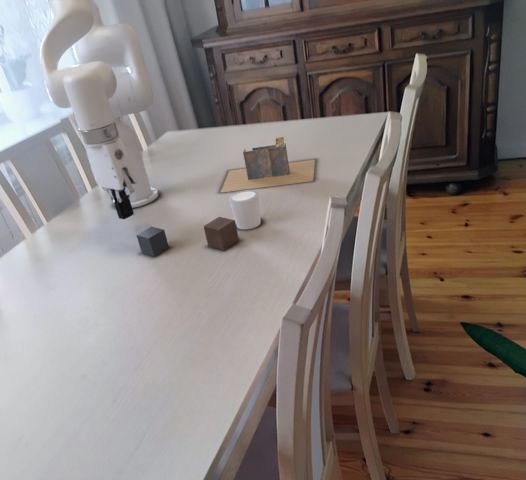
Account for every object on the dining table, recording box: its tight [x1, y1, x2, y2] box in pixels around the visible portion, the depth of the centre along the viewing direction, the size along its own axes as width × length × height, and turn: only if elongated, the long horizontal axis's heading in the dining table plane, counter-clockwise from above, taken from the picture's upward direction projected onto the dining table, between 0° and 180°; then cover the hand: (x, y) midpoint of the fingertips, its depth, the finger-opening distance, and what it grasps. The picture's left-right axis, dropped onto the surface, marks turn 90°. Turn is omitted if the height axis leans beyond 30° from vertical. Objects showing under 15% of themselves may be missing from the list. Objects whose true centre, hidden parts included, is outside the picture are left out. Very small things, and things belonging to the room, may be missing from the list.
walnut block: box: [203, 216, 240, 251], centre depth 126 cm, size 5×5×5 cm
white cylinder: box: [228, 189, 262, 230], centre depth 131 cm, size 7×7×7 cm
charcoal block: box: [135, 226, 170, 258], centre depth 129 cm, size 5×5×5 cm
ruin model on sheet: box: [220, 135, 316, 193], centre depth 154 cm, size 25×16×10 cm, turn 84°
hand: (126, 216), depth 130 cm, fingers closed
